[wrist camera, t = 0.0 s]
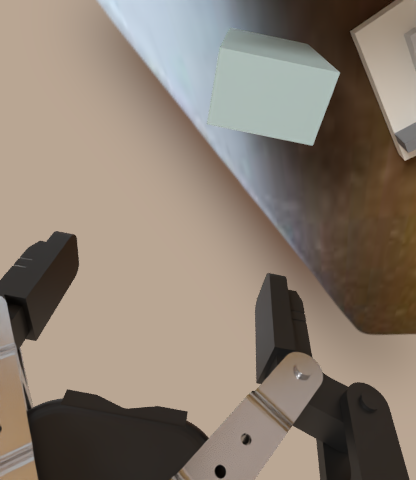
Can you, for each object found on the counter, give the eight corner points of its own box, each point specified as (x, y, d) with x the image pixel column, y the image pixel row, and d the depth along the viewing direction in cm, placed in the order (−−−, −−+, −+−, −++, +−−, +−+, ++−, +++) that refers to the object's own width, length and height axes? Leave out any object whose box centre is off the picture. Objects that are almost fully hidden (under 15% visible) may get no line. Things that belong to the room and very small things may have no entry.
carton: (230, 27, 33) (219, 47, 21) (307, 43, 33) (340, 72, 22) (220, 81, 36) (206, 125, 24) (291, 96, 37) (312, 147, 25)
